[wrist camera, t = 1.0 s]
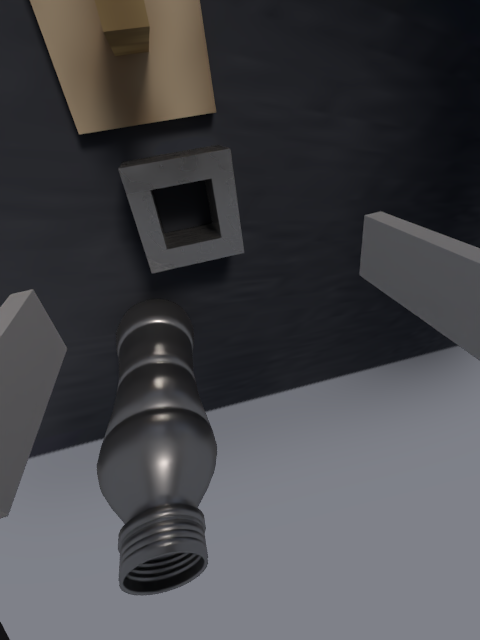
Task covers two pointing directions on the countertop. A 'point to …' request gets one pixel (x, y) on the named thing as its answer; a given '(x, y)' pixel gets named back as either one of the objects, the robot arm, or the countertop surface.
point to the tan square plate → (128, 60)
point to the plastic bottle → (157, 451)
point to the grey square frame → (189, 242)
